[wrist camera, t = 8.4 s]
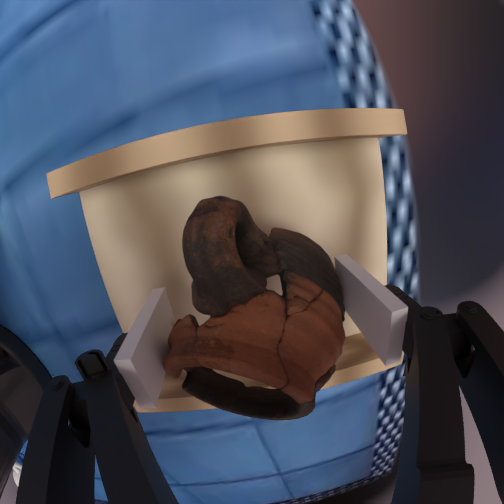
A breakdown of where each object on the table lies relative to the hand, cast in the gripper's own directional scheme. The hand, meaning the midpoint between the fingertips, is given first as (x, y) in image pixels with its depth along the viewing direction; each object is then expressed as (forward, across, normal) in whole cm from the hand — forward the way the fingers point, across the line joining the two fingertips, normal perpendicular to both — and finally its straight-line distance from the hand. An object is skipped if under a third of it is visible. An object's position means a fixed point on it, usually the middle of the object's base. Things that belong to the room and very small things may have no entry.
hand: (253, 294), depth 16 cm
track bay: (+6, 0, 0) cm, 6 cm away
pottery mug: (+1, 0, 0) cm, 1 cm away
